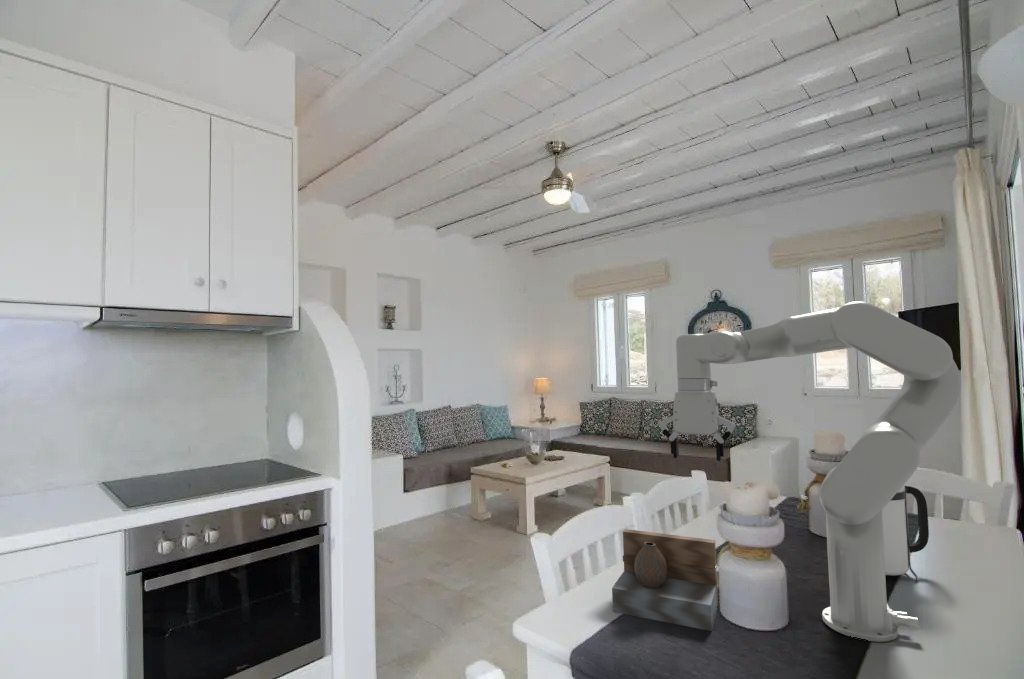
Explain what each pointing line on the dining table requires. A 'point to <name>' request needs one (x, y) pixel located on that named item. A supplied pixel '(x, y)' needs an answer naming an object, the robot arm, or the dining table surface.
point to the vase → (650, 566)
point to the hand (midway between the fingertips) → (697, 458)
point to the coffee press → (902, 531)
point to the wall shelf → (670, 581)
